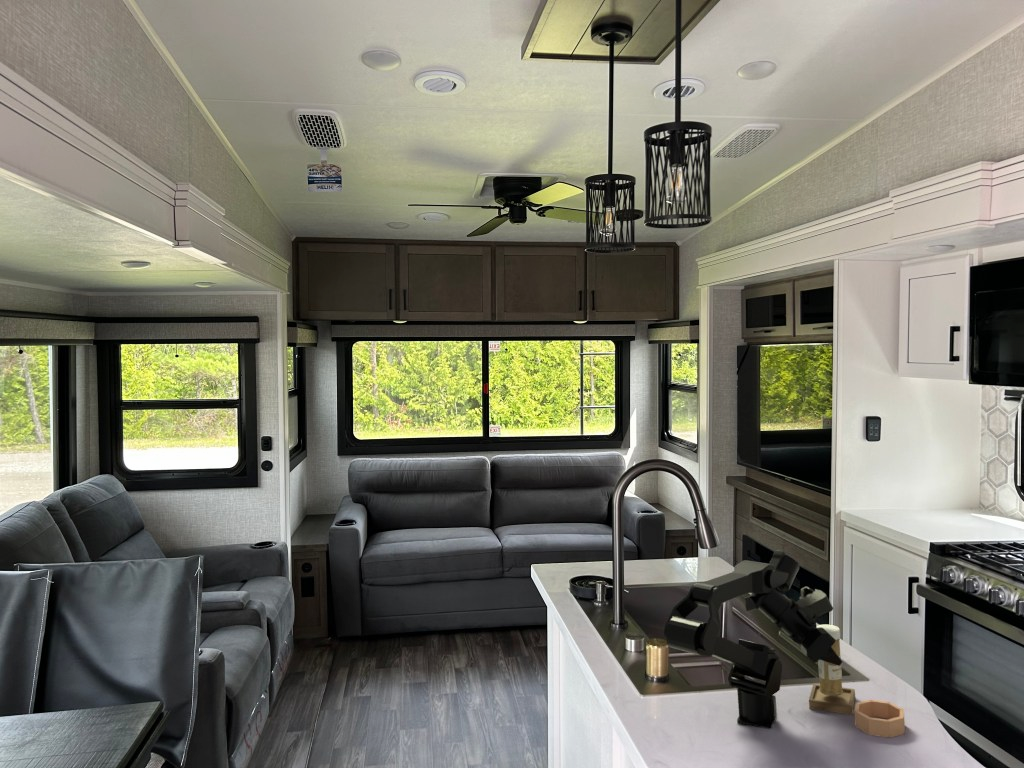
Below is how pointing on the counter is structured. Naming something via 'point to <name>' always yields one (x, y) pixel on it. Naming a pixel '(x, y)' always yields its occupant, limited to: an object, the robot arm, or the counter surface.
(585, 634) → the counter surface
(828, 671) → the sprinkles bottle
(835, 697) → the walnut tray
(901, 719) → the holder ring
